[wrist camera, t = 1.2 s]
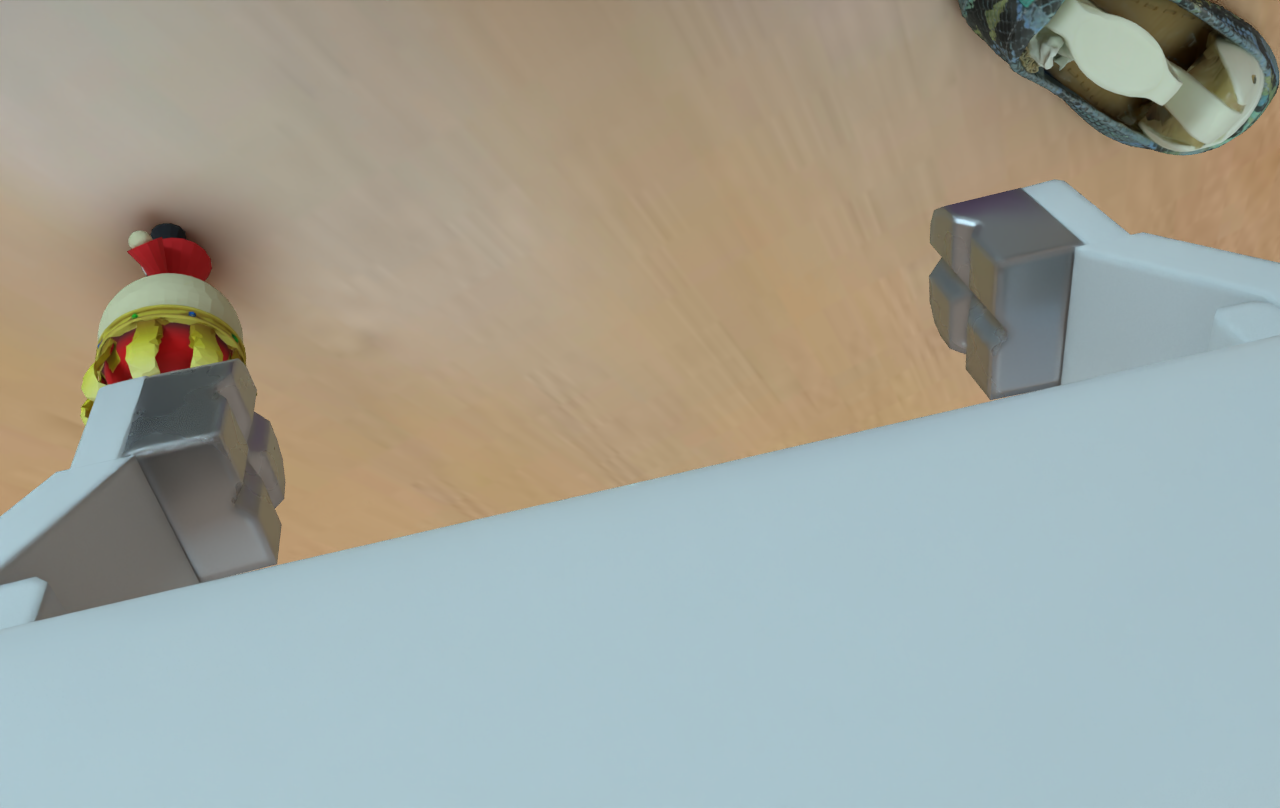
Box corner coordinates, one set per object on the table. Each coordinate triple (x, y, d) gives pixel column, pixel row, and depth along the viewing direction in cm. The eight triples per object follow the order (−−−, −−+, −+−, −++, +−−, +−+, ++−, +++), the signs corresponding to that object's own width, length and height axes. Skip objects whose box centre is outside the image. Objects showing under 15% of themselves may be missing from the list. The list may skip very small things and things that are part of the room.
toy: (67, 222, 55) (29, 453, 45) (199, 162, 54) (190, 383, 44) (161, 317, 60) (145, 542, 50) (281, 264, 59) (290, 481, 50)
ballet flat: (1185, 162, 70) (1264, 245, 64) (891, 27, 58) (957, 115, 52) (1299, 39, 65) (1395, 117, 59) (1003, -136, 53) (1090, -58, 47)
